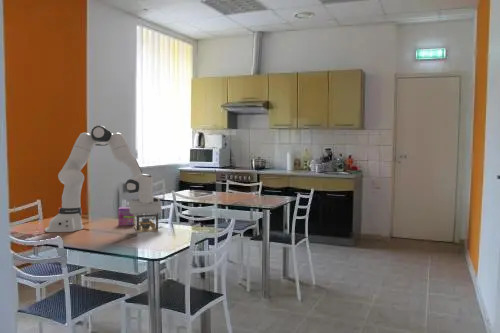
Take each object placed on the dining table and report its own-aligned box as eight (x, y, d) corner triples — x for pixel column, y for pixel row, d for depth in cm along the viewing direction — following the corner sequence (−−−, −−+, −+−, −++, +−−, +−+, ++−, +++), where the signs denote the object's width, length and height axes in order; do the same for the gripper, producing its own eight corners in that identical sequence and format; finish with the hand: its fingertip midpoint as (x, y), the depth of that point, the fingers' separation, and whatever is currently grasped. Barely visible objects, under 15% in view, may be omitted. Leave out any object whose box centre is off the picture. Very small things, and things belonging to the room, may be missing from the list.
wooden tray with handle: (136, 232, 273) (136, 215, 272) (133, 227, 288) (133, 211, 287) (158, 231, 278) (158, 214, 277) (154, 226, 293) (154, 210, 292)
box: (118, 225, 294) (118, 208, 294) (119, 224, 300) (119, 207, 299) (134, 225, 296) (134, 208, 295) (135, 223, 301) (135, 206, 301)
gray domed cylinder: (142, 228, 280) (142, 219, 279) (141, 226, 284) (141, 217, 284) (150, 227, 282) (150, 218, 281) (149, 226, 286) (149, 217, 286)
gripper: (129, 200, 275) (129, 221, 276) (162, 199, 282) (161, 220, 283) (128, 198, 281) (128, 220, 281) (160, 197, 288) (160, 218, 289)
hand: (145, 220), depth 282 cm, fingers open, 8 cm apart
